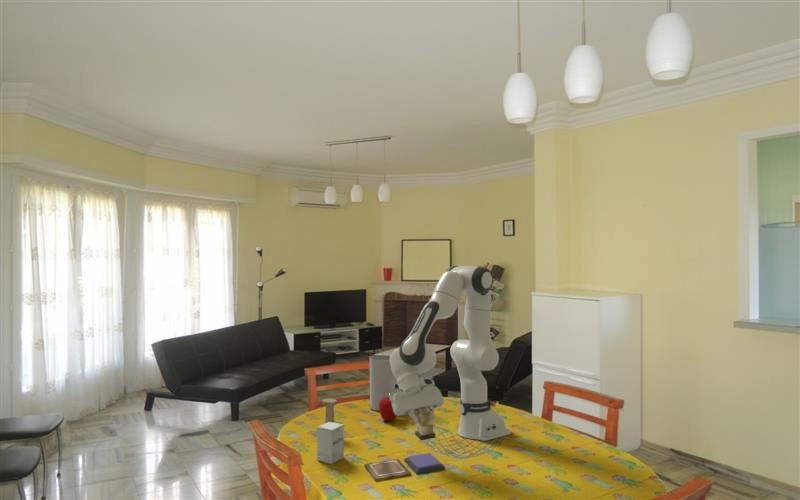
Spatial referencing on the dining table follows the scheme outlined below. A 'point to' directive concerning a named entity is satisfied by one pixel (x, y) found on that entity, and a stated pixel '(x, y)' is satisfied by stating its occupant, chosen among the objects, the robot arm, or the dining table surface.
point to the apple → (386, 409)
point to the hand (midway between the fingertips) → (425, 420)
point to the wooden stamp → (425, 424)
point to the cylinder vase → (380, 379)
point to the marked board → (387, 469)
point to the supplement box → (330, 442)
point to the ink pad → (424, 463)
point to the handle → (329, 409)
